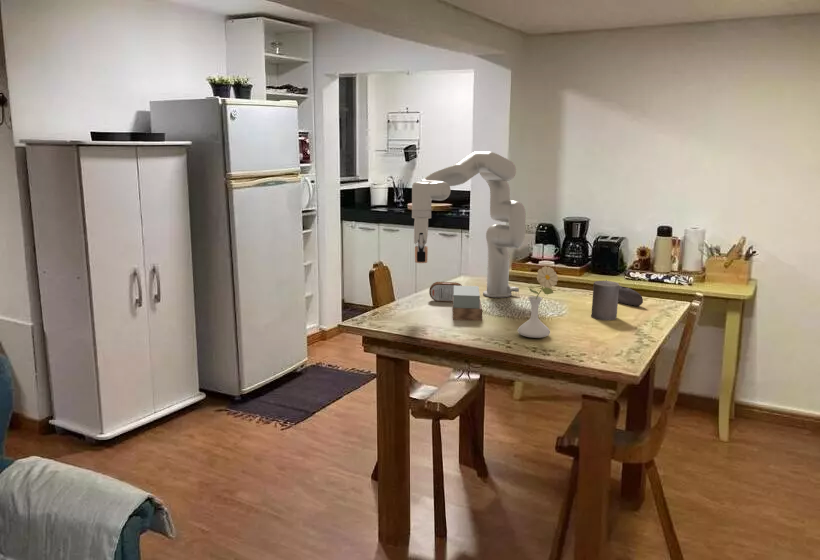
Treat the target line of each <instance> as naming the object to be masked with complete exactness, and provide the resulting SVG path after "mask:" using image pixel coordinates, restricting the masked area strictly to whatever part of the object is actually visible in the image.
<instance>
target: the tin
mask: <svg viewBox="0 0 820 560" xmlns="http://www.w3.org/2000/svg"><path fill="white" fill-rule="evenodd" d="M454 285H455V286H463V285H462V284H461V283H459V282H456V281H455V282H454V281H453V282H452V281H435V282H433V283H432V284H431V285H430V286H429V290H428V291H429V293H428V294H429V296H430V298H431V299H432V300H433V301H435V302H440V303H443V302H444V303H453V297H454Z"/></svg>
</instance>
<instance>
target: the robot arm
mask: <svg viewBox="0 0 820 560" xmlns="http://www.w3.org/2000/svg"><path fill="white" fill-rule="evenodd" d="M478 174H479V175H480V177H481V178H483V180H485V182H486V183H487V185H488V187H489V195H490V198H489V200H490V202H489V215H490V219H492V220H493V221H495V222H499V224H498V223H497V224H492V225H490V226H488V228H487V230H486V233H485V239H486V246H487V267H486V270H487V273H486V290H483V292H482V295H483V296H485V297H488V298H494V299H495V298H498V299H499V298H500V299H503V298H508V297H509V298H510V297H512V293H513V292H515V293H517V292H518V293H519V291H520V288H519V287H517V286H510V284H509V275H510V274H509V273H510V253H509V250H508V249H509V248H510V249H519V248H521V247H522V246H523V245H524V242H525V237H526V209H525V206H524V204H523V203H522V202H520V201H518V200H511V187H510V184H509V181H512V180H513V179H514V178H515V176H516V174H517V168H516V165H515V164H514V162H513V161H512V160H510V159H508V158H506V157H504V156H502V155H501V154H498V153H496V152H493V151H473V152H470V153H469V154H468V155H465V157H463V158H462V159H460V160H458V161H457V162H455V163H454V164H453V165H451V166H448V167H444V168H441V169H438V170H437V171H434V172H432V173H430V174H429V175H427V176H425V177H424V178H422V179H421V180H420V181H416V182H413V183H412V186H411V218H412V219H414V222H413V228H414V229H413V244H414V245H416V244H417V246H418V251H417V262H425V246H426V244H427V242H428V235H429V234H428V233H429V219H432V201H446V199H448V198H449V197H450V195H451V191H452V190H451V187H455V186H461V185H463V184H465V183H466V182H468V181H469V180H471V179H472V178H473V177H475V176H476V175H478ZM500 222H501V223H508V225H507V224H501V223H500Z"/></svg>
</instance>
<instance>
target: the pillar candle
mask: <svg viewBox="0 0 820 560" xmlns="http://www.w3.org/2000/svg"><path fill="white" fill-rule="evenodd" d="M619 286H620V284H619V282H616V281H610V280H607V279H605V280H596V281H595V280H594V282H593V288H592V300H591V301H592V302H591V314H590V316H591V318H593V319H595V320H600V321H615V320H617V315H618V307H619V306H618V304H619V302H618V294H619Z"/></svg>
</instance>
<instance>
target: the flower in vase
mask: <svg viewBox="0 0 820 560" xmlns="http://www.w3.org/2000/svg"><path fill="white" fill-rule="evenodd" d="M536 277H537V278H536V280H537V282H538V284H539V286H541V289H540V291H539V292H538V291H536V290H533V289H532V288H530V287H529V291H530V292H531V293H534V294H536V295H535V296H534V295H531V296H528V297H527V299H528V300H529V303H530V306H531V307H530V308H531V314H530V317H529V319H528V320H527V321H525V322H523V323H522V324H521V325H519V327H518V328H517V330H516V331H517V332H518V334H519V335H520V336H523V337H527V338H531V339H534V338H535V339H539V338H545V337H547V336H549V335H550V334H551V329H550V328H549V327H548V326H547V325H545V324H544V322H542V320H541V319H539V316H538V315H539V306H540V303H541V301H542V300H543V297H542V296H539V295H540V294H541V292H543V293H544V294H545V295H551V294H554V291H553V290H552V288H553V287H555V286H557V284H558V283H557V282H559V279H558V278H559V276H558V274H557V272H556V271H555V270H554V268H553V267H550V266H548V267H547V266H546V265H545V266H542V267H541V268H540V269H538V270H537V274H536Z"/></svg>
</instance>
